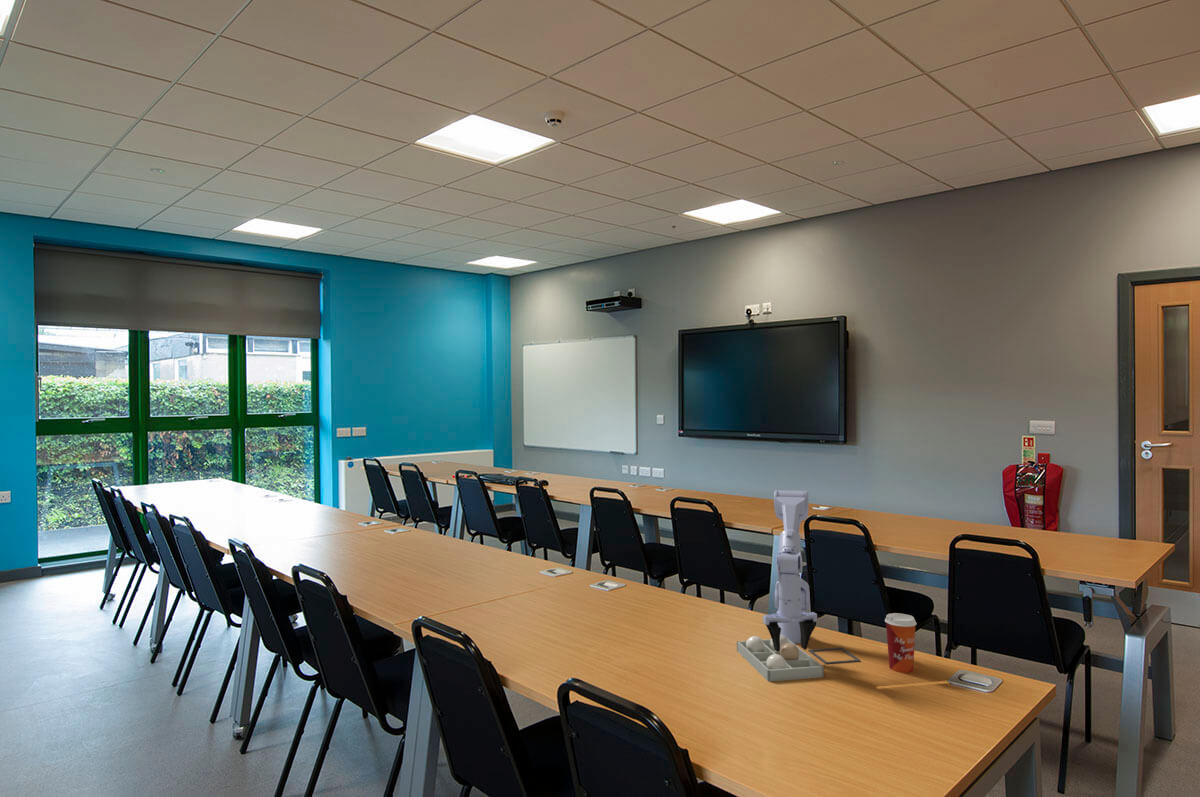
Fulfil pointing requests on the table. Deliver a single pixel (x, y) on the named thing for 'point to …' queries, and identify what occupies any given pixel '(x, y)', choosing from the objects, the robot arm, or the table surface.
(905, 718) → the table surface
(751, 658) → the tray
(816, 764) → the table surface
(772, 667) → the white egg
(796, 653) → the beige ball
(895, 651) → the paper cup
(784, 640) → the white egg
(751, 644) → the white egg
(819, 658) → the coaster
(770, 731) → the table surface
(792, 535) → the robot arm
